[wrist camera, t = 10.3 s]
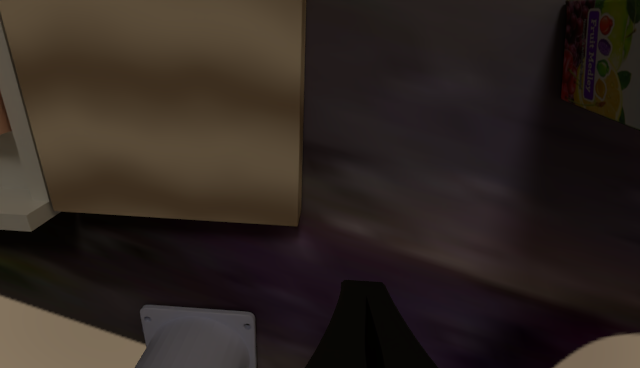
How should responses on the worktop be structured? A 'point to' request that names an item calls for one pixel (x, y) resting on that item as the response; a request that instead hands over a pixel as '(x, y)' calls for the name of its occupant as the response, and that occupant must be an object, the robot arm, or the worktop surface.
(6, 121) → the terracotta tile
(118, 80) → the board
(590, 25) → the snack box
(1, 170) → the tray
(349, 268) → the worktop surface
